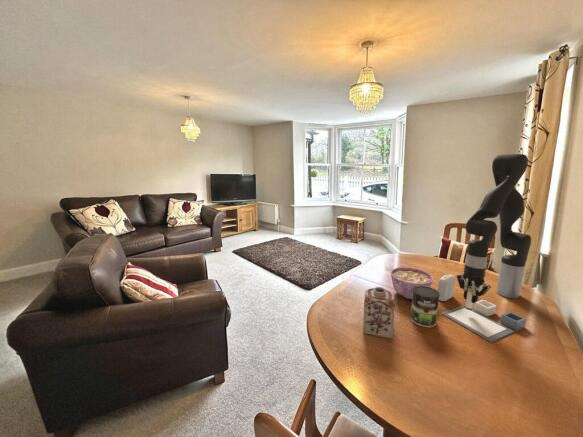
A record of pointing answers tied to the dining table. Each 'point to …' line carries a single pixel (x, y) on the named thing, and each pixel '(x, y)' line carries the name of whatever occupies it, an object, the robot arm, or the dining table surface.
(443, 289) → the photo printer
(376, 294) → the decorative jar
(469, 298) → the marker
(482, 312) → the cup
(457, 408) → the dining table surface
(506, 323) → the cup
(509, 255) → the robot arm
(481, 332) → the writing board
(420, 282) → the bowl of food
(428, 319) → the coffee can
